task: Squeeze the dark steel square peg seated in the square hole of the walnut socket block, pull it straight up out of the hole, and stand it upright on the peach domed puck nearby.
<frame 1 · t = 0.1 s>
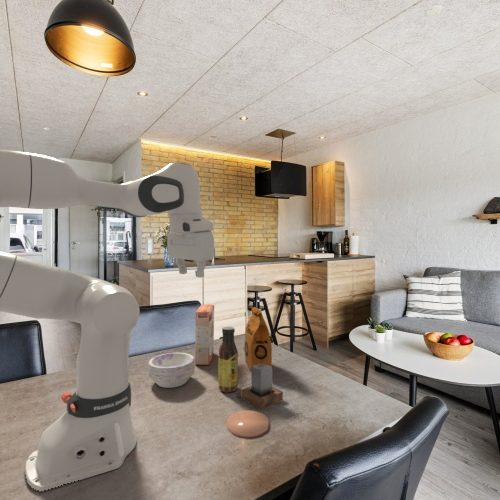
hand: (191, 275, 91), 39 cm above the table, tool pointing down, fingers open, 8 cm apart
socket block: (261, 398, 101), on the table
paper bowls: (171, 382, 112), on the table
coffee package: (258, 367, 125), on the table
sauce bottle: (228, 389, 108), on the table
steel peg: (261, 382, 101), in the socket block
cracker box: (205, 359, 133), on the table
peach domed puck: (247, 424, 87), on the table
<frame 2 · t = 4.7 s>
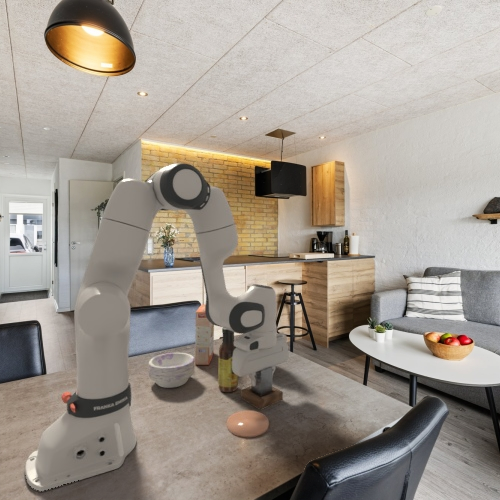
hand: (261, 382, 101), 5 cm above the table, tool pointing down, fingers closed on steel peg, 4 cm apart
steel peg: (261, 382, 101), in the socket block, touching gripper
everything else where it was.
when the fingers open (8 cm above the table, at t = 11.3 s): steel peg drops 2 cm, resting on peach domed puck.
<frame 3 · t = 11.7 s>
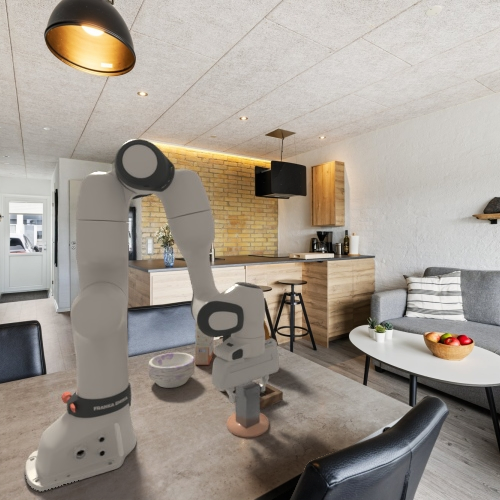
hand: (247, 396, 87), 8 cm above the table, tool pointing down, fingers open, 8 cm apart
steel peg: (247, 403, 87), on the peach domed puck, point 6 cm above the table
everything else where it was.
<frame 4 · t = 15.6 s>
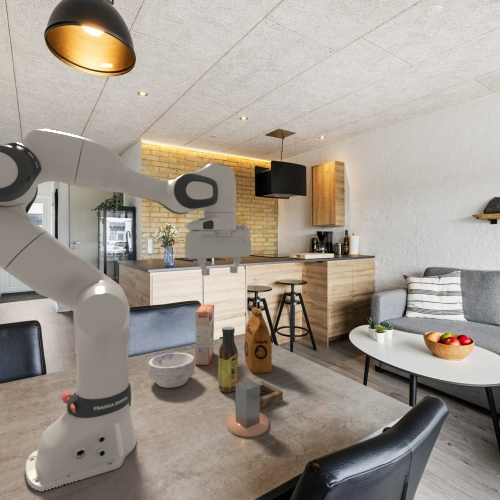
hand: (220, 274, 92), 39 cm above the table, tool pointing down, fingers open, 8 cm apart
nothing on the table moved.
at the end: steel peg inside the target area on the peach domed puck (0.1 cm from its centre), point 5.8 cm above the peach domed puck's base; steel peg tilted 0°; the gripper is holding nothing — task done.
